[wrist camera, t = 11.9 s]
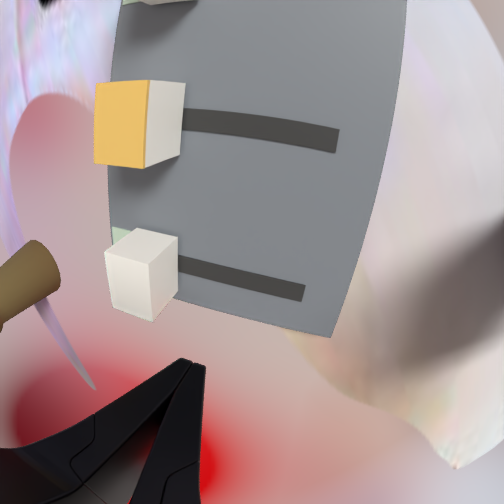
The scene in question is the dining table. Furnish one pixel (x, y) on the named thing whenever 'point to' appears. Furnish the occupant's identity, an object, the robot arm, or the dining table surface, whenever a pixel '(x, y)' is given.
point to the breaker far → (142, 272)
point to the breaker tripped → (137, 122)
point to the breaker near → (159, 1)
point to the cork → (26, 279)
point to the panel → (264, 147)
